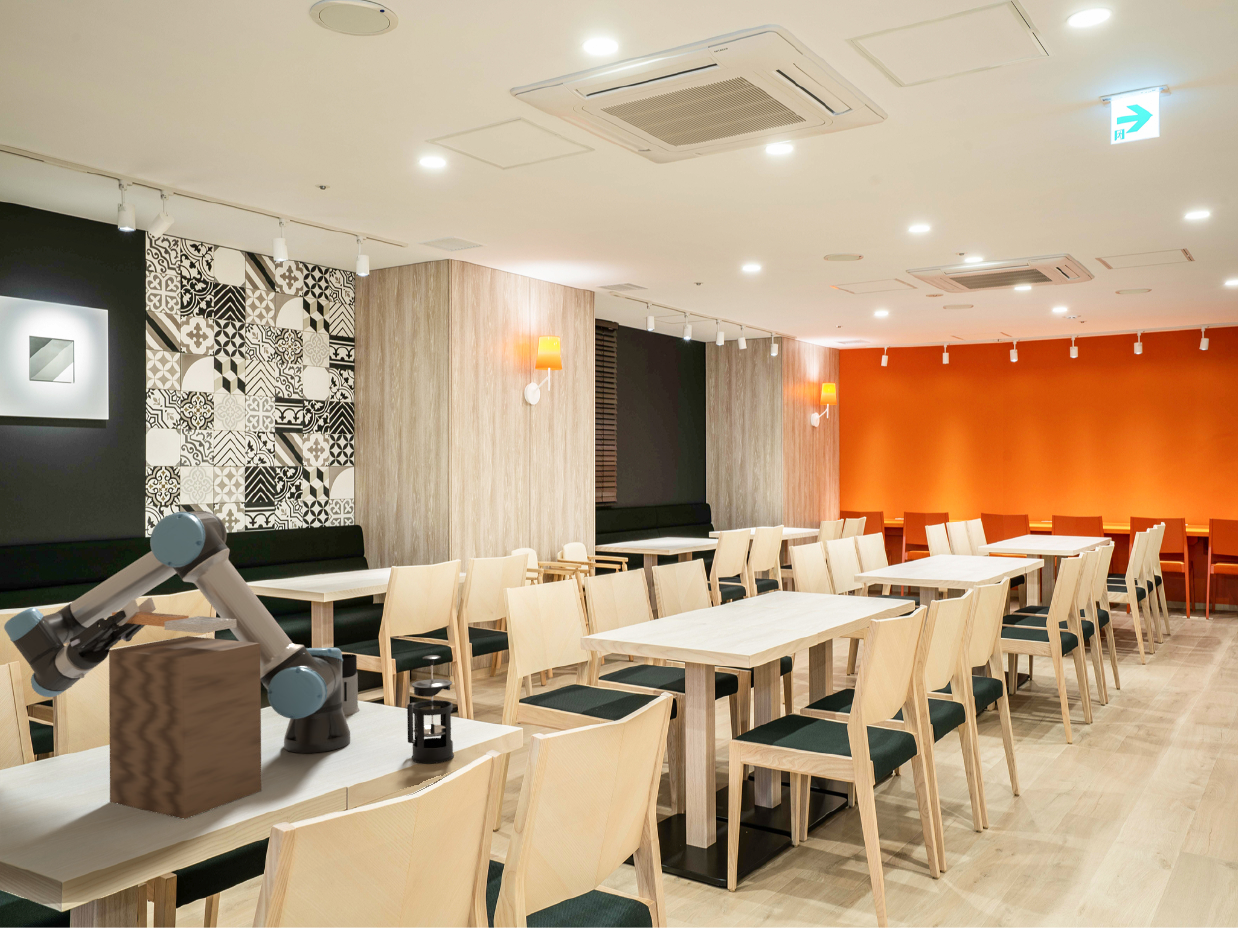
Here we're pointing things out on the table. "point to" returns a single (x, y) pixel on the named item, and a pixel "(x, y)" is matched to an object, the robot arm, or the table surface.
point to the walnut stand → (184, 724)
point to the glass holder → (349, 684)
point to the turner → (182, 622)
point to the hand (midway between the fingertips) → (144, 604)
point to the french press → (432, 747)
